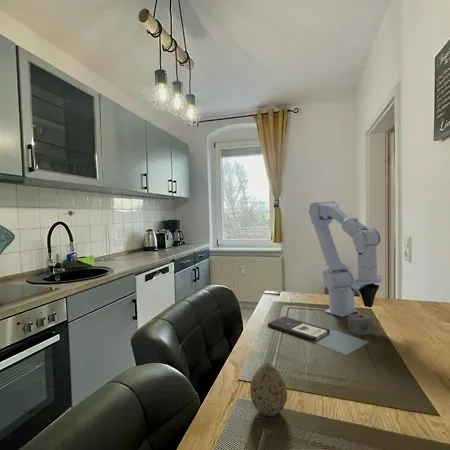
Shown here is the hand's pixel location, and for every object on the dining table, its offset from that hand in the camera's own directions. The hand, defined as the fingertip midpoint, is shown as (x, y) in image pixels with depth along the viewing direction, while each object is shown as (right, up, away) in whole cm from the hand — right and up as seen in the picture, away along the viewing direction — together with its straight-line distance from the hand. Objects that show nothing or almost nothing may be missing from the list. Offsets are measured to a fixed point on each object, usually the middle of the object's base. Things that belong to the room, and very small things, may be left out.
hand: (368, 306), depth 97 cm
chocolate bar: (-23, -8, 0) cm, 25 cm away
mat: (-13, -8, -10) cm, 18 cm away
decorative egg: (-39, -11, -39) cm, 56 cm away
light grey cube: (-4, -8, -3) cm, 9 cm away
